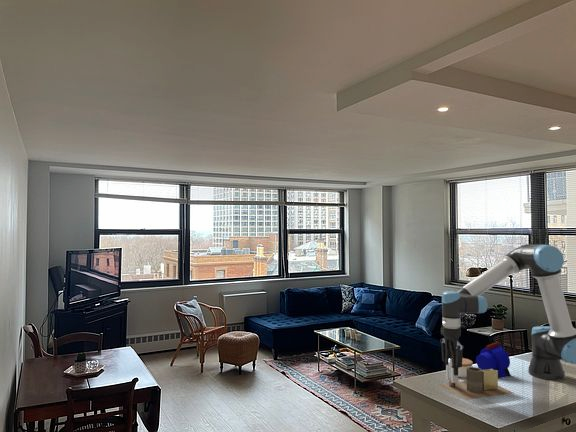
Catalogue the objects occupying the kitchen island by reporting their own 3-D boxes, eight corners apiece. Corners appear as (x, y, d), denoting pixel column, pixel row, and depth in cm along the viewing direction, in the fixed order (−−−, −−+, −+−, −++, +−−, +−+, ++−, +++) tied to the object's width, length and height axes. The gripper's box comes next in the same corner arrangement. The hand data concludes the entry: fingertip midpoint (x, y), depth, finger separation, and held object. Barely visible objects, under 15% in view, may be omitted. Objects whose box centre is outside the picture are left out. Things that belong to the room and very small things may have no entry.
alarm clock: (512, 376, 203) (511, 344, 204) (493, 379, 198) (492, 347, 199) (491, 368, 214) (490, 338, 215) (472, 371, 210) (472, 341, 210)
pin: (452, 384, 188) (452, 357, 188) (457, 387, 185) (456, 359, 186) (447, 385, 187) (446, 357, 187) (451, 387, 184) (451, 359, 185)
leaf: (496, 388, 183) (496, 370, 183) (497, 388, 182) (497, 370, 183) (482, 389, 181) (482, 371, 182) (483, 390, 181) (483, 371, 181)
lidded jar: (465, 382, 194) (465, 362, 194) (444, 376, 202) (443, 356, 203) (477, 377, 201) (476, 357, 201) (455, 372, 209) (455, 352, 209)
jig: (483, 381, 195) (482, 359, 196) (514, 395, 178) (513, 371, 179) (438, 386, 189) (438, 363, 189) (466, 402, 171) (466, 376, 172)
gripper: (433, 323, 194) (433, 375, 193) (456, 331, 178) (456, 388, 177) (447, 322, 196) (447, 374, 195) (471, 330, 180) (471, 386, 180)
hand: (452, 380), depth 186 cm, fingers closed on pin, 3 cm apart
